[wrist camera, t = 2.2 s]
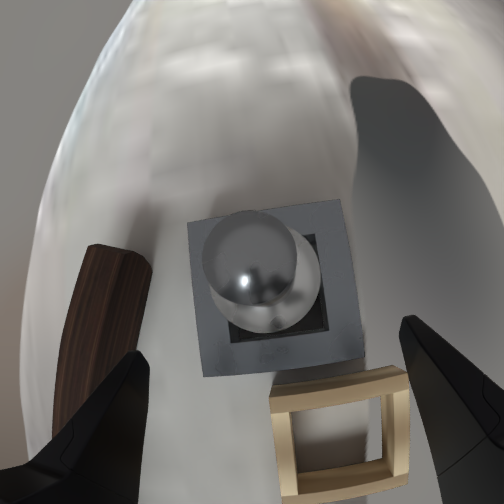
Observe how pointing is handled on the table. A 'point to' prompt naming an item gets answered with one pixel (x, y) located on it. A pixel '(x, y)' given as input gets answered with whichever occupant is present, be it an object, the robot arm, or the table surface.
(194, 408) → the table surface
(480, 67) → the table surface
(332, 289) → the socket
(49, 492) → the robot arm
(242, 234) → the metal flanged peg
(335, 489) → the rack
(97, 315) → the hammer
